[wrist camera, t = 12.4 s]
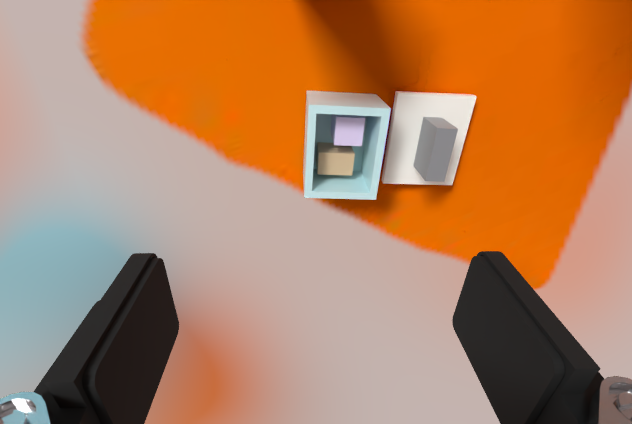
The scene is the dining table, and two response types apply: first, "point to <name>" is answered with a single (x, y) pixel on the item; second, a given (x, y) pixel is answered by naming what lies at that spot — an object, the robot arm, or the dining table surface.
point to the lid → (426, 137)
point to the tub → (344, 144)
